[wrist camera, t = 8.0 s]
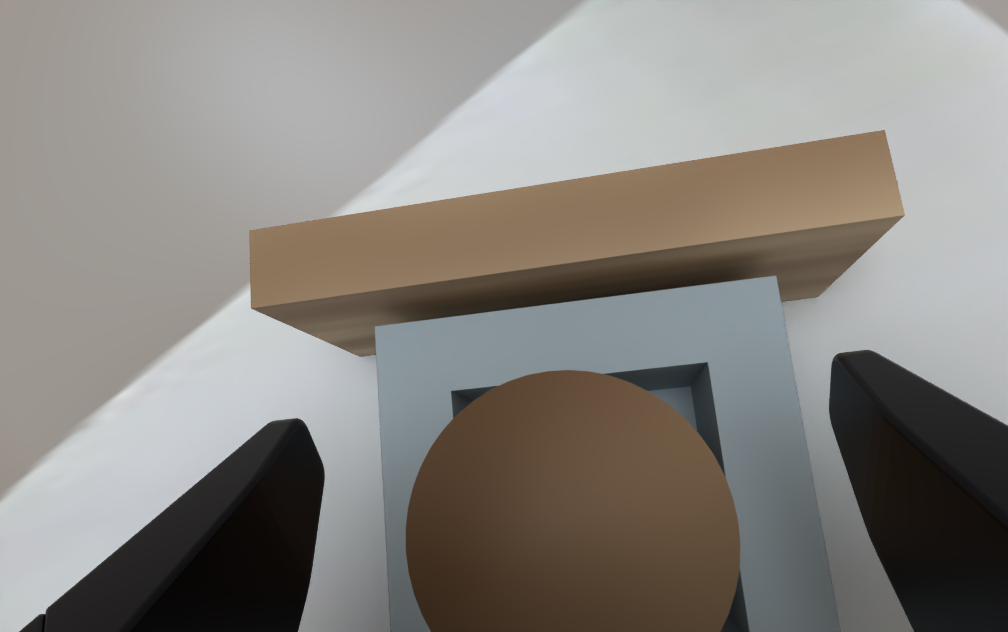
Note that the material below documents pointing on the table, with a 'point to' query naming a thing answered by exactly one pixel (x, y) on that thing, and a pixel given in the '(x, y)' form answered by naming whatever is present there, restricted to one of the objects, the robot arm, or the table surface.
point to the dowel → (572, 514)
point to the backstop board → (583, 240)
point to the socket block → (665, 373)
